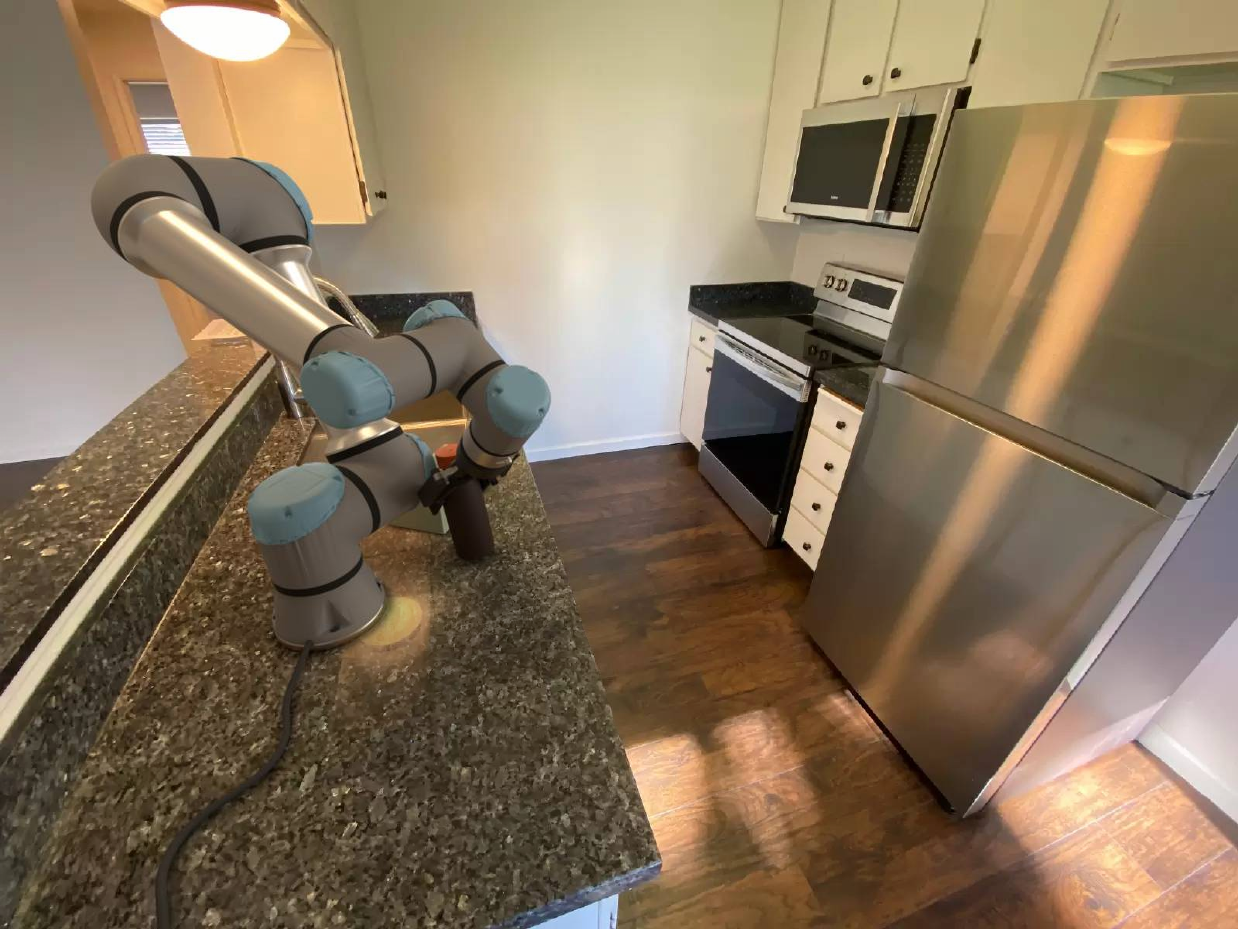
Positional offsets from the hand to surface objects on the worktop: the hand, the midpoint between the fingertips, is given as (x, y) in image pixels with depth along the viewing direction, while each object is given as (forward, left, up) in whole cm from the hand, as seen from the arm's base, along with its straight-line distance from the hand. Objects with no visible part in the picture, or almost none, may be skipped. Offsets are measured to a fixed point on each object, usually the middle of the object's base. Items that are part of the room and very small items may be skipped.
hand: (453, 499), depth 90 cm
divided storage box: (+14, +11, -10) cm, 20 cm away
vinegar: (-1, -4, -9) cm, 10 cm away
